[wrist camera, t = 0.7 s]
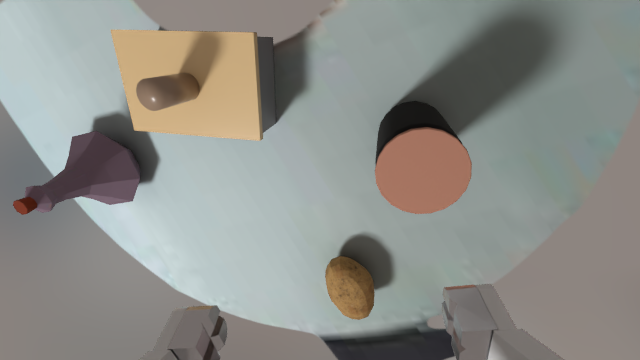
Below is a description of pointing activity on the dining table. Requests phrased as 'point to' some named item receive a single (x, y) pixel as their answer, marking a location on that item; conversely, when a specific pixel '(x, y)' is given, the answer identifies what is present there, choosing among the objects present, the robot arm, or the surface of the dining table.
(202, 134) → the lid
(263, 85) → the tub
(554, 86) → the dining table surface
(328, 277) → the potato
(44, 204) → the flask
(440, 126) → the coffee jar
